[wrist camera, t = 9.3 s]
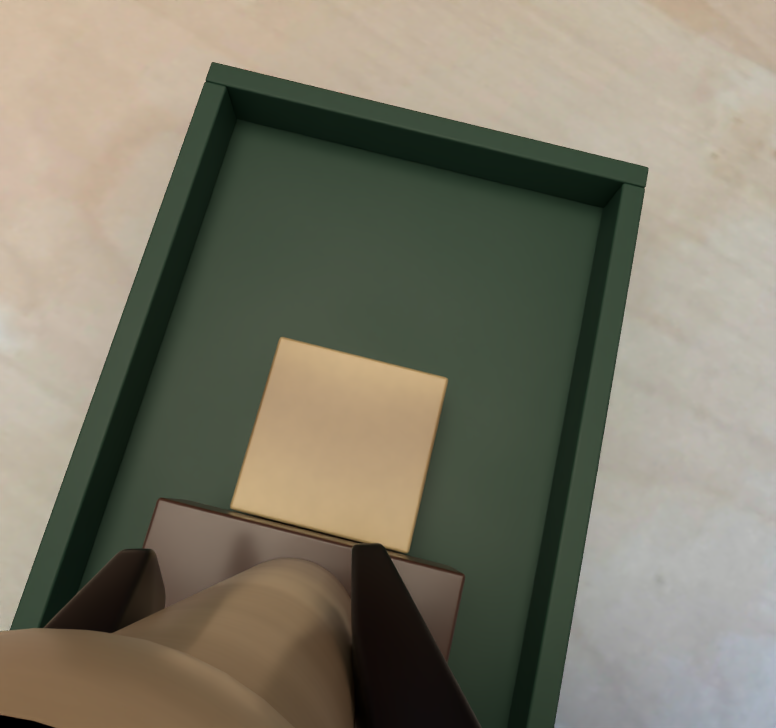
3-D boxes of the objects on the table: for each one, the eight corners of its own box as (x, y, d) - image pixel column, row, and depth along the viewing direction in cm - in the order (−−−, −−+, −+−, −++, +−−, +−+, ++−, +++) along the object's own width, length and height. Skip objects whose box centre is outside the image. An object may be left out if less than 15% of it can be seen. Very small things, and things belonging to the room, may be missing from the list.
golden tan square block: (402, 549, 16) (409, 554, 14) (244, 509, 16) (228, 509, 14) (439, 393, 17) (449, 377, 15) (289, 355, 17) (279, 335, 15)
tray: (493, 889, 15) (516, 954, 13) (6, 762, 15) (-55, 804, 13) (616, 207, 19) (649, 166, 17) (228, 113, 19) (211, 60, 17)
